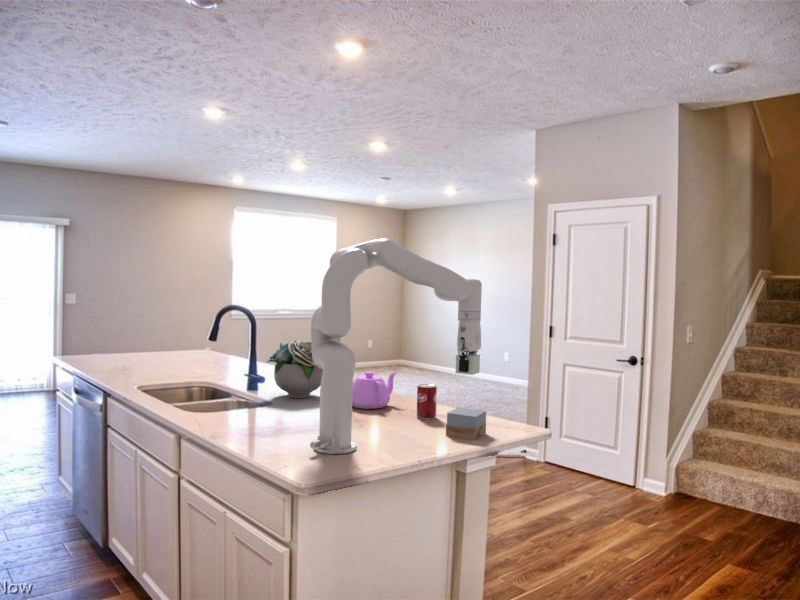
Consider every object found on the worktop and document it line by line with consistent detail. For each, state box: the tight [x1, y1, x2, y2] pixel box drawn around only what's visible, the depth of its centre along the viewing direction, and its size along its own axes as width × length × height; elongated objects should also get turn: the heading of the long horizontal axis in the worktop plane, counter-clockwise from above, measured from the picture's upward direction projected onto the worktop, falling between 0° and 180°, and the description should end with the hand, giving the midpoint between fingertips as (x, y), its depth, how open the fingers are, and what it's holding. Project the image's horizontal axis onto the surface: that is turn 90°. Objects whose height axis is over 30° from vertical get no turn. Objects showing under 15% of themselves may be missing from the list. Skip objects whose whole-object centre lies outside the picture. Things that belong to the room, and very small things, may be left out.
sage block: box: [455, 353, 481, 376], centre depth 193 cm, size 6×6×6 cm
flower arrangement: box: [266, 340, 323, 399], centre depth 249 cm, size 25×25×24 cm
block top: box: [446, 407, 487, 429], centre depth 193 cm, size 10×10×4 cm
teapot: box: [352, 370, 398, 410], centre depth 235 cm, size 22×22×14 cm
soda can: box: [416, 383, 438, 420], centre depth 216 cm, size 7×7×12 cm
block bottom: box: [445, 422, 487, 441], centre depth 193 cm, size 10×10×4 cm
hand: (467, 370), depth 193 cm, fingers closed on sage block, 6 cm apart
